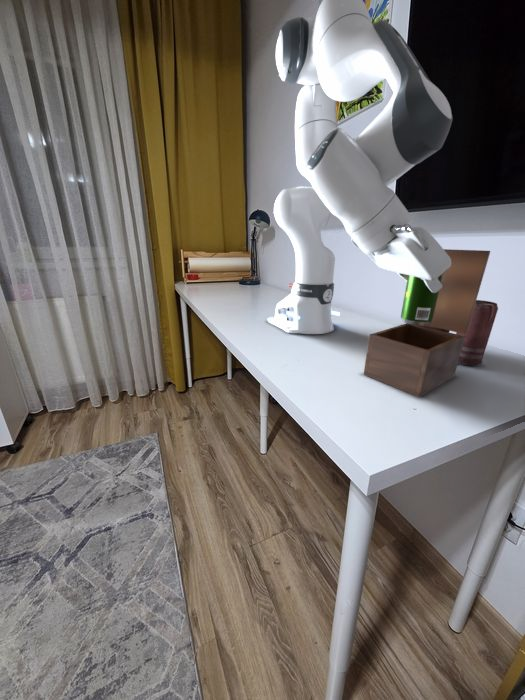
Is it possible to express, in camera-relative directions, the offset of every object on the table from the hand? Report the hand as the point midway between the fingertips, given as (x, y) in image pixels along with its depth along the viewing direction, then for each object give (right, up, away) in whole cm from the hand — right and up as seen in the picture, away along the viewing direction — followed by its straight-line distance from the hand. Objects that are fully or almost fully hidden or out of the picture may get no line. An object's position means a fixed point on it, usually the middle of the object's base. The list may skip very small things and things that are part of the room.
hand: (425, 286), depth 52 cm
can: (+18, -14, +15) cm, 27 cm away
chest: (+1, -17, +8) cm, 18 cm away
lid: (+7, +1, +6) cm, 9 cm away
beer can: (-1, -6, +2) cm, 7 cm away
